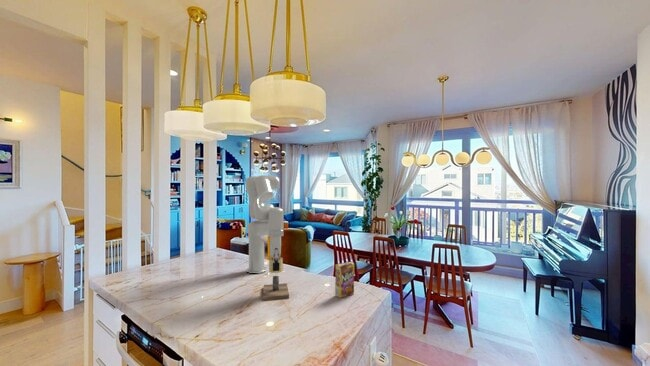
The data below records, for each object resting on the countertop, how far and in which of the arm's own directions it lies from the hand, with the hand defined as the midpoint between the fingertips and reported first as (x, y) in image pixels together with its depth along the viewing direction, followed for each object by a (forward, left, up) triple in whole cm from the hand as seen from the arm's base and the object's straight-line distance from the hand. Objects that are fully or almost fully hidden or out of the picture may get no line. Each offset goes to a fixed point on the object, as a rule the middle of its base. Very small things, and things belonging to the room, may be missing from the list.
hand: (275, 268), depth 130 cm
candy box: (+10, +33, -12) cm, 37 cm away
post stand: (0, 0, -12) cm, 12 cm away
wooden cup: (0, 0, -1) cm, 1 cm away
